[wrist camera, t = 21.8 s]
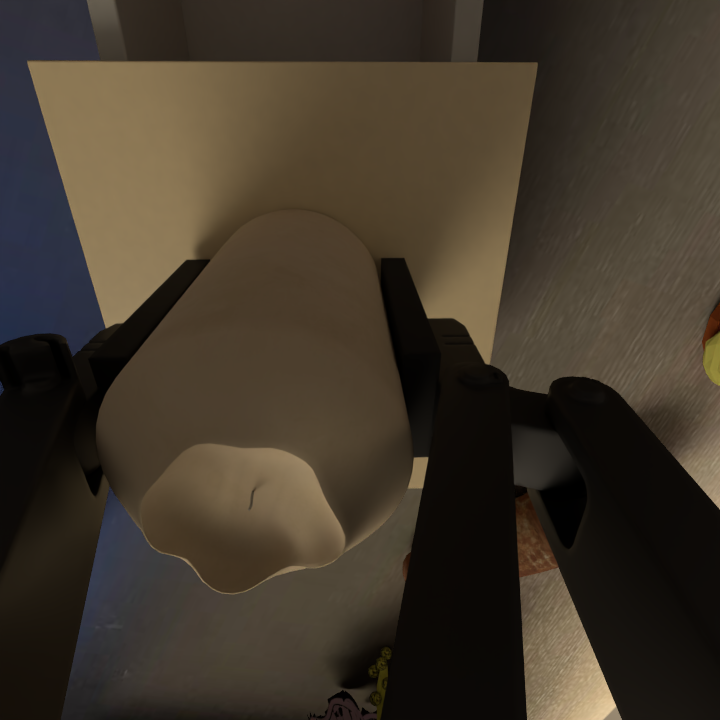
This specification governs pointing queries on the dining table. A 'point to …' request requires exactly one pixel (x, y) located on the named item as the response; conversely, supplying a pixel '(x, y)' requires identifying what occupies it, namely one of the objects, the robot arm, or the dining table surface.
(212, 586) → the candle
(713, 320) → the cheeseburger
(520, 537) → the brown sausage
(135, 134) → the small drawer cabinet
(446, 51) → the drawer
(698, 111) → the dining table surface
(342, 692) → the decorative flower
